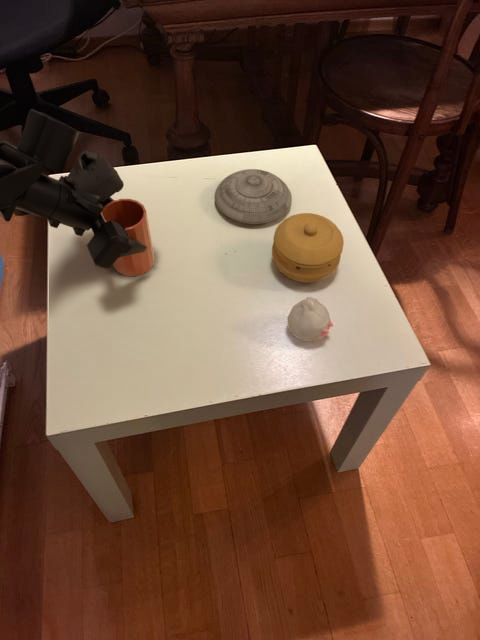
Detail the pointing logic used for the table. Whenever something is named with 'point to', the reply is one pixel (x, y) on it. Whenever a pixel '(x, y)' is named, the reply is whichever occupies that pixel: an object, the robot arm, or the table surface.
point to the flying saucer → (253, 196)
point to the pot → (307, 247)
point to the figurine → (309, 320)
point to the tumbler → (132, 234)
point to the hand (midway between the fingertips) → (135, 230)
